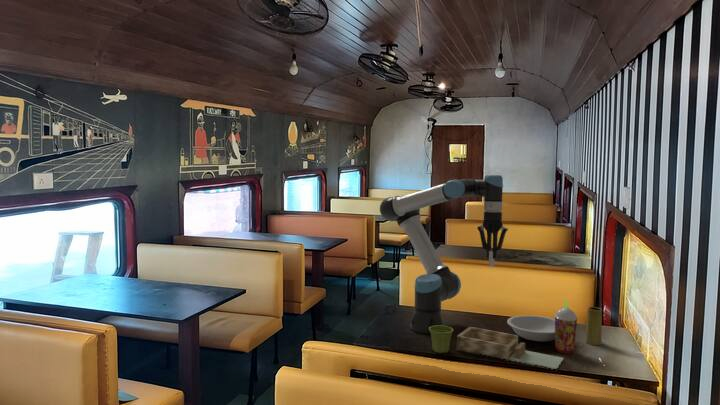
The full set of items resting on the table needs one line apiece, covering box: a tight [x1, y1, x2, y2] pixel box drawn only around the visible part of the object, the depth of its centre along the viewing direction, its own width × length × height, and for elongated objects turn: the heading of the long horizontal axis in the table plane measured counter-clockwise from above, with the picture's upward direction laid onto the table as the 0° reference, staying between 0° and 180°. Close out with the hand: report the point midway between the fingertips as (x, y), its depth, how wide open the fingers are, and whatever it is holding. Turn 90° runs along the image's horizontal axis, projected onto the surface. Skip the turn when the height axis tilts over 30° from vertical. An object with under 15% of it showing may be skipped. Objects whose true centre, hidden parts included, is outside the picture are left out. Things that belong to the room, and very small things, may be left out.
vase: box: [585, 306, 603, 346], centre depth 213 cm, size 6×6×14 cm
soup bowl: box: [506, 314, 555, 343], centre depth 218 cm, size 24×24×7 cm
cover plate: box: [508, 342, 565, 370], centre depth 194 cm, size 17×12×5 cm
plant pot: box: [429, 325, 454, 354], centre depth 203 cm, size 9×9×9 cm
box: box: [456, 326, 519, 361], centre depth 205 cm, size 20×14×6 cm
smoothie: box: [553, 300, 578, 355], centre depth 203 cm, size 8×8×20 cm
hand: (491, 265), depth 224 cm, fingers closed
